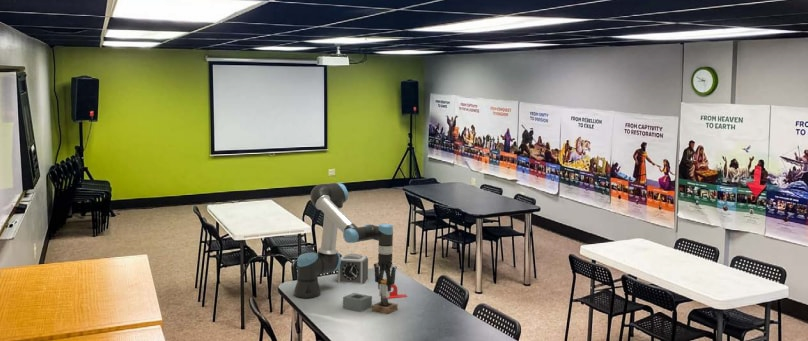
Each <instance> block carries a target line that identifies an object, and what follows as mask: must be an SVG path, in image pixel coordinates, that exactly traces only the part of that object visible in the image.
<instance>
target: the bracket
mask: <svg viewBox="0 0 808 341" xmlns="http://www.w3.org/2000/svg"><path fill="white" fill-rule="evenodd" d="M392 288H393V290H391V291H390V296H389V297H388V300H390V299H402V298H407V297H408V295H407V293H405V294H398V287H397V285H396V284H395V283H394V284H392V285H391V289H392Z"/></svg>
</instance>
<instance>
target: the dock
mask: <svg viewBox="0 0 808 341" xmlns="http://www.w3.org/2000/svg"><path fill="white" fill-rule="evenodd" d="M372 305H373V296H372V295H368V294H362V293H357V292H356V293H355V292H352V293H349V294H348V295H347V294H346V295H345V296H342V309H346V310H352V311H357V312H363V311H364V312H365V311H367V310H368V309H372Z"/></svg>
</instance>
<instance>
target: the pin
mask: <svg viewBox="0 0 808 341" xmlns="http://www.w3.org/2000/svg"><path fill="white" fill-rule="evenodd" d="M380 282H381V296H380V302H381V305H388V302H389V299H388V297H387V298H386V285H387V278H383V279H381V280H380Z"/></svg>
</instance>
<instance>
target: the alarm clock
mask: <svg viewBox="0 0 808 341" xmlns="http://www.w3.org/2000/svg"><path fill="white" fill-rule="evenodd" d="M340 258H341V264H340V267H339V268H338V269H337V283H338V284H346V283H352V285H363V284H365V283H366V282H367V280H368V279H369V258H368V256H367V255H361V254H359V253H358V254H357V253H349V254H343V255H341V256H340Z"/></svg>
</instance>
